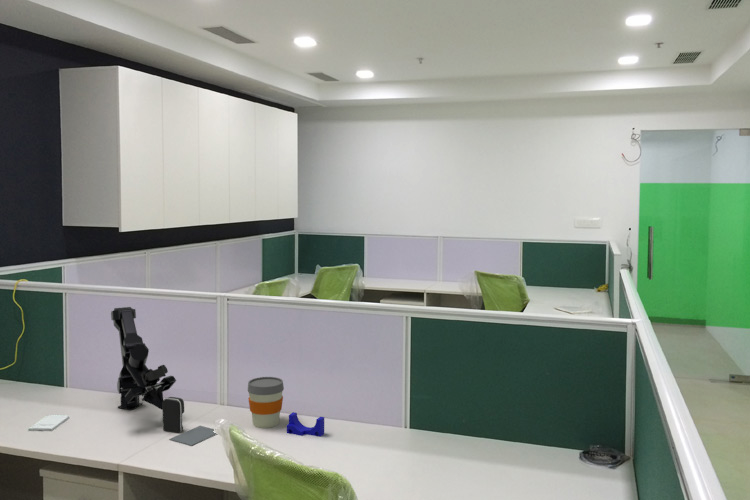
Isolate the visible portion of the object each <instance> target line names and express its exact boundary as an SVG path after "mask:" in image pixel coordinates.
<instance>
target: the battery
mask: <svg viewBox="0 0 750 500" xmlns="http://www.w3.org/2000/svg"><path fill="white" fill-rule="evenodd" d="M184 413H185V400H184V399H183V398H181V397H174V396H169V397H166V398H163V403H162V425H163V426H162V427H163V428H162V430H163V431H166V432H171V433H182V432H183V431H184V426H183V414H184Z"/></svg>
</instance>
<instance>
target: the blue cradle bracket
mask: <svg viewBox="0 0 750 500" xmlns="http://www.w3.org/2000/svg"><path fill="white" fill-rule="evenodd" d="M286 434H289V435H296V436H302V437H303V436H304V435H308V436H312V437H322V436H324V434H325V417H324V416H319V417H317V418H316V421H315V425H314V426H313V427H307V426H305V425H304V424H302V423H301V421H300V420H299V418H298V413H297V412H295V411H293V412H291V413H290V414H288V423H287V424H286Z"/></svg>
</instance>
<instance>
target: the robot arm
mask: <svg viewBox="0 0 750 500" xmlns="http://www.w3.org/2000/svg"><path fill="white" fill-rule="evenodd" d="M136 311H137V310H136V308H132V307H131V306H127V307H126V306H125V307H115V308H114V309H113V310H111V311H110V317H111V321H113V326H114V327H115V329H116V330H117V331H118V333H119V334H118V335H119V344H120V345H119V346H120V353H121V363H122V368H121V370H120V372H119V376H118V377H117V382H116V387H117V389H116V390H117V393H118V394H120V405H118V406H117V408H118V409H124V410H134V409H137V408H139V407H141V406H143V405H144V404H143V402H146V403H149V404H151V405H153V406H155V407H156V408H157V409H160V410H162V403H163V400H164V394H163V392H167V391H168V390H170V389H171V388H172V387H173V386H174V384H175V383H176V382H177V379H176V377H174V375H168V376H167V375H166V374H167V373H169V372H168V371H169V370H168V368H167V366H166V365H165V364H162V365H159V366H157V368H156V369H152V368H150V369H149V368H148V367H147V365H146V364H147V361H148V357H149V350H150V349H149V348H148V347H147V345H146V344H145V343H144V340H143V337H141V336H140V335H138V332H137V327H136V324H135V319H136V318H137V314H136ZM162 377H163V378H162ZM161 378H162V379H161ZM140 396H142V399H141V401H142V402H140Z"/></svg>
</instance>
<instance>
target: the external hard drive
mask: <svg viewBox="0 0 750 500" xmlns="http://www.w3.org/2000/svg"><path fill="white" fill-rule="evenodd" d="M69 419H70V415H68V414H67V415H65V414H64V415H61V414H60V415H59V414H58V415H56V414H55V415H54V414H53V415H52V414H47V415H46V416H44V417H43V418H41V419H40V420H38V421H36V423H34V424H33V425H32V426H30V427H29V428H28V429H27V432H53V431H54V430H56V429H57V428H59V427H60V426H61V425H63V424H64V423H65V422H67V421H68V420H69Z"/></svg>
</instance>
